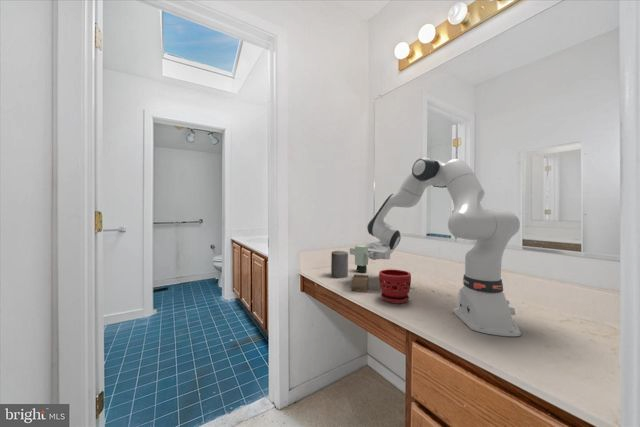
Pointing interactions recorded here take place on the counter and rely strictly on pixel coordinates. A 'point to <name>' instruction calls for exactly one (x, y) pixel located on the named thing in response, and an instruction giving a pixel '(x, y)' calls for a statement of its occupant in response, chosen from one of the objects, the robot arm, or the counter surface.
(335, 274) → the pillar candle
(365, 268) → the character mug
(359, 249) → the sage brick
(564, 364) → the counter surface
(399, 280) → the plant pot
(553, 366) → the counter surface
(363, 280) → the walnut base
